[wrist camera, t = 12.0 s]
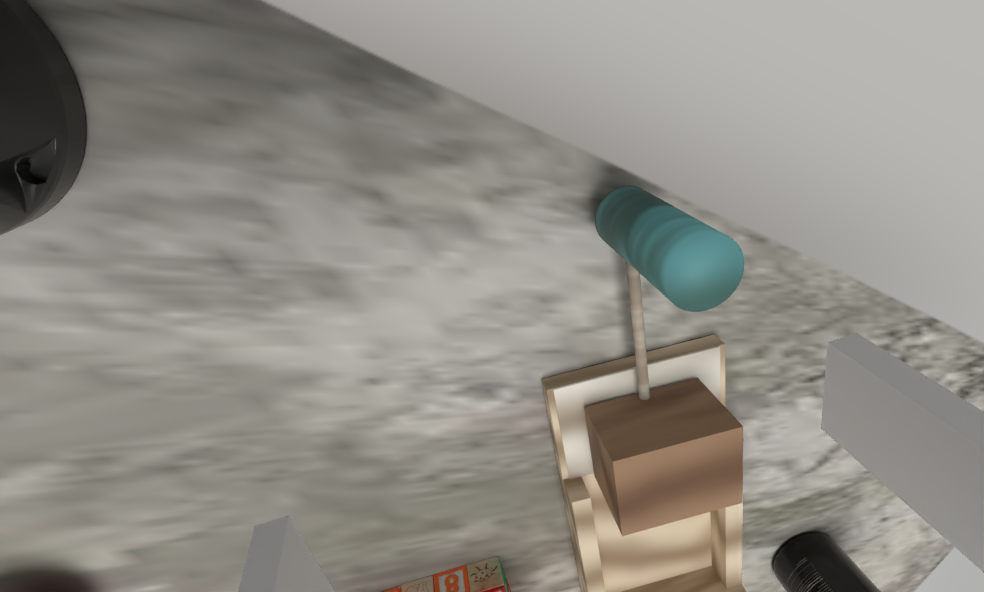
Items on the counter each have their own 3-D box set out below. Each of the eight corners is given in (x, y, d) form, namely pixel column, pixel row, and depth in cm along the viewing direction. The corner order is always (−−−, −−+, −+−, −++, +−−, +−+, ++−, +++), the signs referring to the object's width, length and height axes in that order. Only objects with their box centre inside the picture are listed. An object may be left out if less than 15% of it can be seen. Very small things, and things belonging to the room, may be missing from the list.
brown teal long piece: (553, 203, 33) (610, 257, 24) (690, 170, 34) (795, 211, 25) (594, 476, 43) (645, 587, 34) (700, 447, 44) (777, 549, 35)
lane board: (541, 379, 41) (565, 433, 35) (714, 334, 42) (765, 379, 36) (582, 597, 52) (605, 666, 46) (718, 558, 53) (758, 621, 47)
